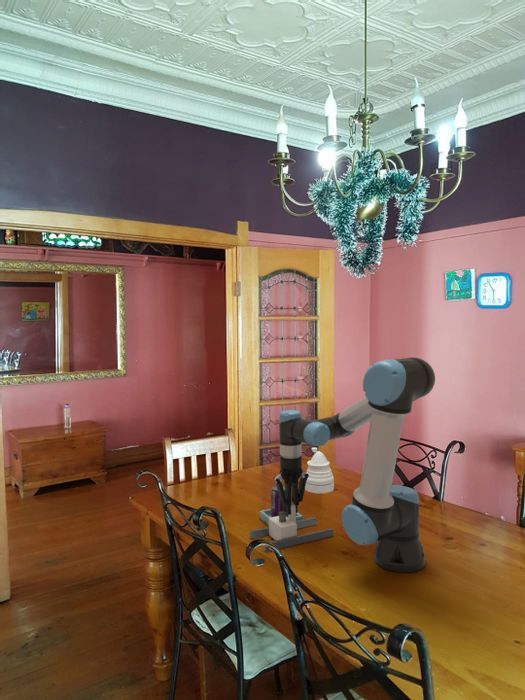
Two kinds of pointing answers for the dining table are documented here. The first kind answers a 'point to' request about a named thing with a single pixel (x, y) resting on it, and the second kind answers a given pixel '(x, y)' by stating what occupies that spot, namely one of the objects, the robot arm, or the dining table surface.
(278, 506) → the beverage can
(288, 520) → the slider
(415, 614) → the dining table surface
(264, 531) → the slide track
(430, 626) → the dining table surface
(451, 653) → the dining table surface
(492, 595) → the dining table surface
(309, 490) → the honey pot
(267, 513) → the tray
